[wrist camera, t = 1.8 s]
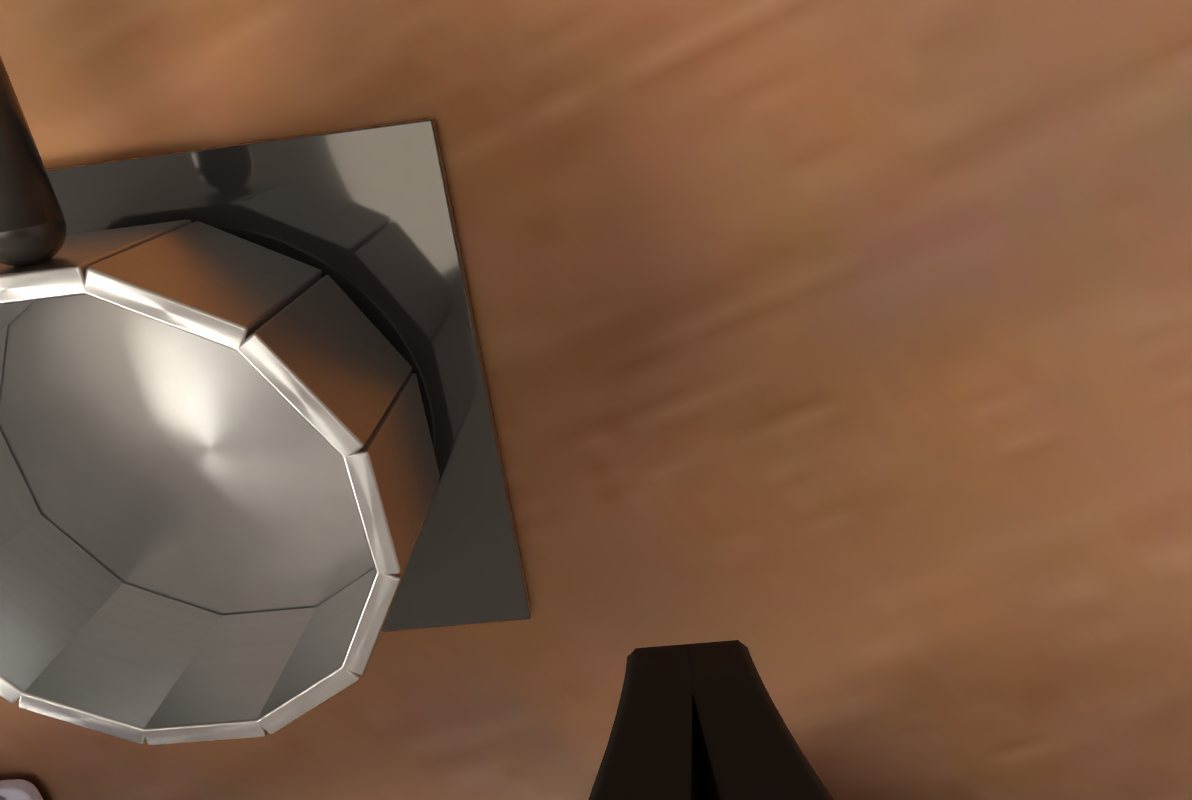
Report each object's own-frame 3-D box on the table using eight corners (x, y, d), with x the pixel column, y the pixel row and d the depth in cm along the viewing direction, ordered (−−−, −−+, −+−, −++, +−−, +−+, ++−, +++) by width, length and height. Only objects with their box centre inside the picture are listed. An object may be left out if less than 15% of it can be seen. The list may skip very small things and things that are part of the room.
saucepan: (477, 586, 21) (442, 724, 17) (105, 619, 22) (-19, 759, 18) (311, -141, 15) (184, -220, 10) (-216, -58, 15) (-539, -98, 11)
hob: (434, 118, 17) (431, 118, 16) (531, 612, 22) (530, 619, 22) (-464, 237, 18) (-480, 240, 18) (-170, 673, 23) (-180, 680, 23)
